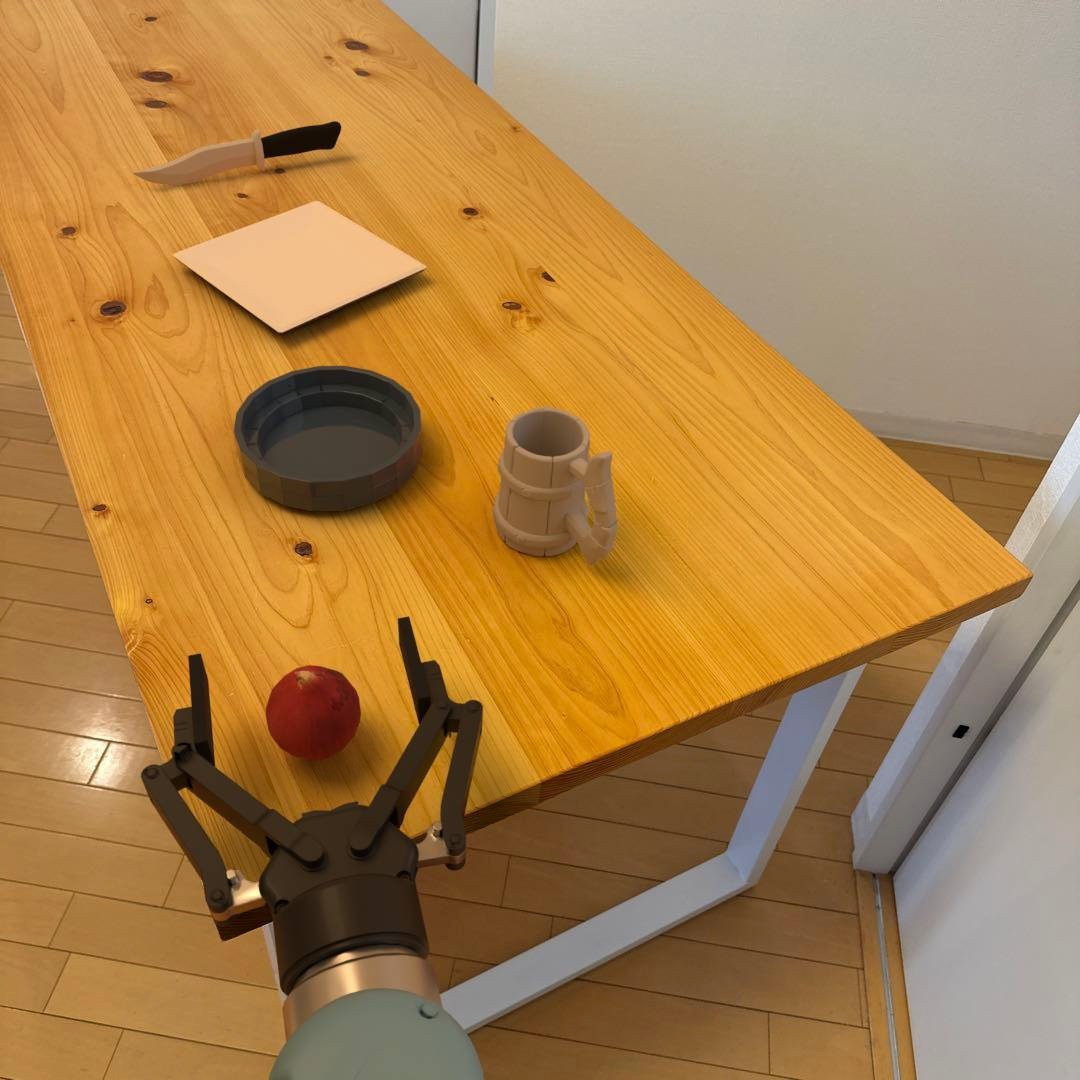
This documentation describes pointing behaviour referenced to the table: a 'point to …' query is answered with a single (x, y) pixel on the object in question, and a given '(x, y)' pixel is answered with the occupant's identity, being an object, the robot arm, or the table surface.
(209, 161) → the knife
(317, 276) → the plate
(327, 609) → the table surface
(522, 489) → the mug
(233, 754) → the table surface
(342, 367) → the bowl
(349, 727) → the onion
